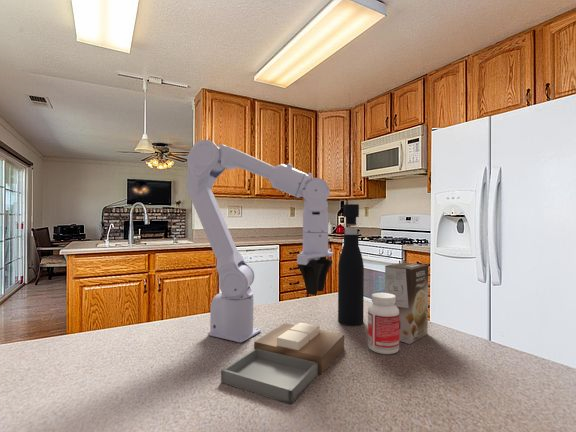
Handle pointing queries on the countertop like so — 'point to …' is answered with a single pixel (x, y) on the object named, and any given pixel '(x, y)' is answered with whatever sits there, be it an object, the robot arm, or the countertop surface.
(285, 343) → the tile
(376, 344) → the pill bottle
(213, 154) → the robot arm
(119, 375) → the countertop surface
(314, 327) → the tile
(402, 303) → the coffee box
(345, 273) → the black water bottle
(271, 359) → the tray
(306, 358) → the board
